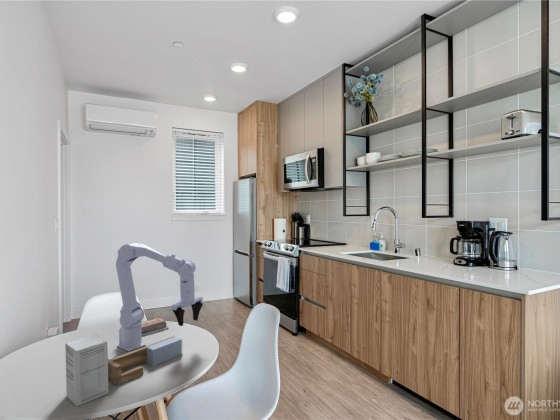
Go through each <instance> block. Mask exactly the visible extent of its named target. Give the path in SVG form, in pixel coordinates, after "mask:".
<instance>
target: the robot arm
mask: <svg viewBox="0 0 560 420" xmlns="http://www.w3.org/2000/svg"><path fill="white" fill-rule="evenodd" d="M141 257H146V258H148V259H151V260H154V261H156V262H160V263H161V264H162V266H163V267H164V268H166V269H168V270H171V271H174V272H175V273H177V274H178V276H179V288H180V292H179V293H180V294H179V295H180V301H178V302H176V303H174V304H171V310H172V312H173V314H174V315H175V319H176V320H177V324H178V326H180V327H183V326H184V317H185V315H184V314H185V311H186V310H185V309H183V308H184V307H185V308H186V307H188V306H191V311H192V320H193V321H197V322H198V319H199V315H200V311H201V309H202V307H203V305H204V304H203V301H204V300H203V299H204V298H203V297H201V296H198V297H195V295H196V294H195V274H194V273H195V272H196V269H197V267H196V265H195V263H194V262H192V261H191V260H186V259H185V258H179V257H177V256H176V254H175V253H172V254H171V253H170V254H166V255H165V254H164V253H162V252H159V251H158V250H156V249H154V248H153V247H150V246H148V245H146V244H144V243H141V242H138V241H137V242H133V243H129V244H127V243H125V244H123V245H121V246H120V248H119V249H118V250H117V257H116V261H115V268H116V273H117V278H118V284H119V289H120V291H119V292H120V296H121V302H122V307H121V309H120V310H119V311H120V312H119V313H120V316H119V324H120V328H119V329H118V330H119V331H118V344H116V346H117V347H118V348H119V349H123V350H124V351H127V352H132V351H135V350H137V349H140V348H143V347H146V346H147V343H144V342H142V341H143V340H142V338H143V336H141V322H142V320H143V319H144V317H145V311H144V310H143V308H142V306H141V305H142V304H141V303H140V302H138V300H137V295H136V289H135V285H134V278H133V273H132V269H131V266H132V265H133V263H134V261H136V260H137V259H138V258H141Z"/></svg>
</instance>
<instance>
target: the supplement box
mask: <svg viewBox="0 0 560 420" xmlns="http://www.w3.org/2000/svg"><path fill="white" fill-rule="evenodd" d="M64 345H65V381H66V382H65V384H66V386H65V387H66V388H65V389H66V390H65V391H66V393H65V395H66V398H68V400H70V401H71V402H72V403H73V404H74V405H75V406H76V407H79V406H82V405H84V404H87V403H90V402H91V401H93V400H96V399H98V398H101V397H103V396H106V395H108V394H109V381H108V359H109V357H108V356H109V355H108V354H109V353H108V351H109V350H108V341H107V340H106V339H104V338H102V337H100V336H98V335H97V334H94V335H90V336H87V337H83V338H80V339H76V340H74V341H70V342H67V343H65V344H64Z"/></svg>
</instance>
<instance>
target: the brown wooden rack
mask: <svg viewBox="0 0 560 420" xmlns="http://www.w3.org/2000/svg"><path fill="white" fill-rule="evenodd" d="M173 337H175V336H170V337H167V338H165V339H162V340H160V341H157V342H153V343H151V344H149V345H145V346H142V347H140V348H137V349H134V350H131V351H128V352H127V353H123V354H122V355H119V356H115V357H113V358H110V359H109V358H108V382H110V383H112V384H114V385H116V386H119V385H121V384H123V383H125V382H128V381H131V380H132V379H136V378H137V377H139V376H142V375H144V367H143V366H142V365H140V364H143V363H145V362H147V347H149V346H151V345H154V344H157V343H160V342H162V341H165V340H168V339H171V338H173ZM138 365H139V366H138ZM135 366H137V367H135ZM133 367H135V368H133ZM130 368H132V369H130ZM128 369H130V370H128ZM126 370H128V371H126ZM123 371H125V372H123ZM122 372H123V373H122Z"/></svg>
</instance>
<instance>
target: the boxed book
mask: <svg viewBox="0 0 560 420" xmlns="http://www.w3.org/2000/svg"><path fill="white" fill-rule="evenodd" d="M172 337H173V336H172ZM164 340H165V339H164ZM161 341H162V340H161ZM156 343H157V342H156ZM153 344H154V343H153ZM150 345H151V344H150ZM182 354H183V339H182V338H180V337H177V336H174V337H173V338H171V339H168V340H165V341H162V342H160V343H157V344H154V345H151V346H149V347H147V361H146V363H147V364H148V365H150V366H155V365H157V364H160V363H162V362H165V361H168V360H170V359H172V358H174V357H177V355H178V356H180V355H182Z"/></svg>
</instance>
